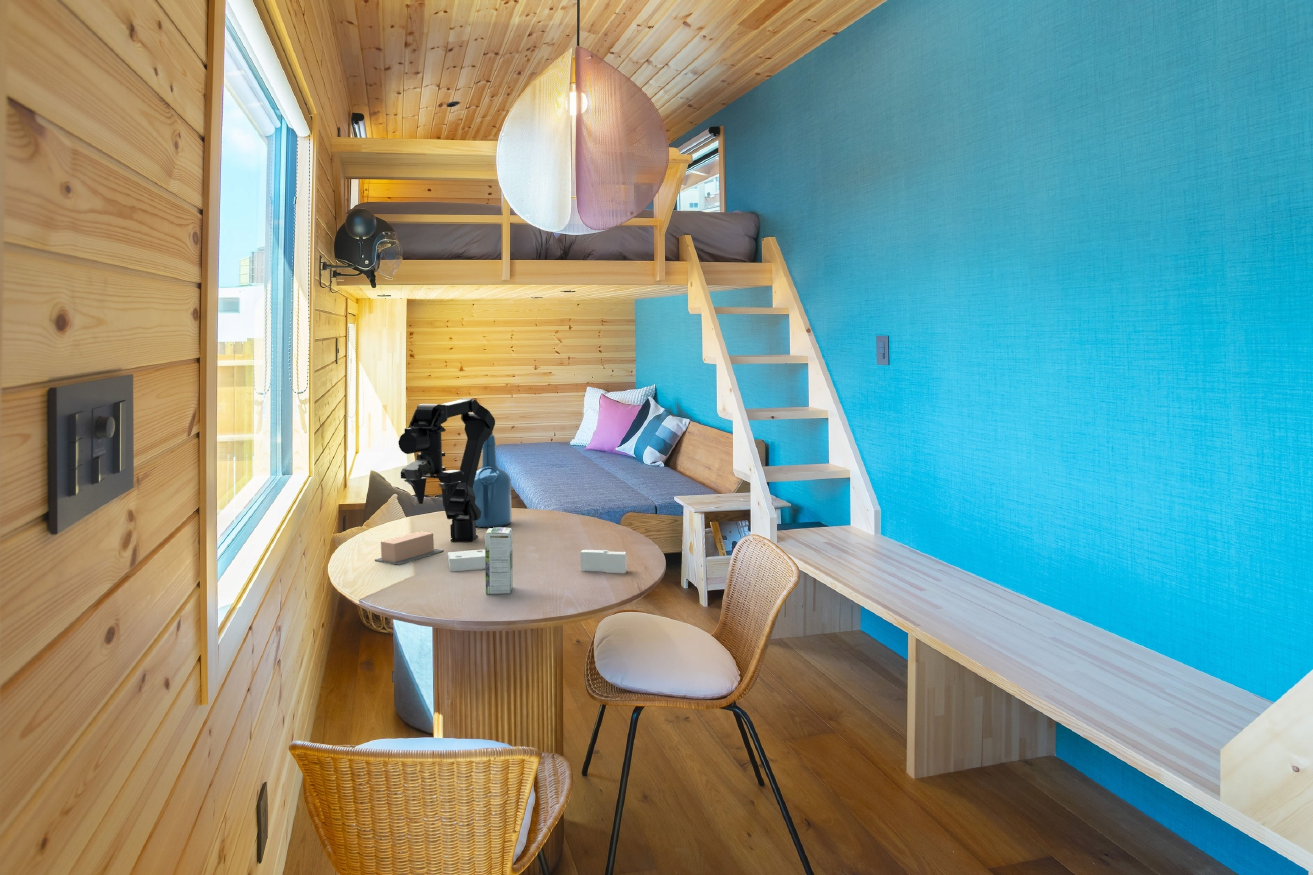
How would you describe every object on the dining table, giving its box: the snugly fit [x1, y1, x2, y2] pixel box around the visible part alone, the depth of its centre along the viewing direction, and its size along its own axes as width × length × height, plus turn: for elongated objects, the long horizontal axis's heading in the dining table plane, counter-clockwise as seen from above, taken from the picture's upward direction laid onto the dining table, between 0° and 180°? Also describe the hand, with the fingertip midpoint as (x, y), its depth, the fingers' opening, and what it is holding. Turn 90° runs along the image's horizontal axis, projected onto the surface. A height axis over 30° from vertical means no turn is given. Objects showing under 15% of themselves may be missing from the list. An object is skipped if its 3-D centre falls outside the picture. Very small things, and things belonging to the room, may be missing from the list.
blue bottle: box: [473, 431, 513, 529], centre depth 260 cm, size 14×13×30 cm
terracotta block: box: [380, 530, 435, 562], centre depth 222 cm, size 5×5×14 cm
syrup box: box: [484, 526, 514, 595], centre depth 190 cm, size 6×6×14 cm
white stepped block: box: [580, 549, 627, 574], centre depth 207 cm, size 15×11×6 cm
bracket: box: [447, 548, 485, 572], centre depth 212 cm, size 13×7×8 cm, turn 108°
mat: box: [374, 548, 444, 566], centre depth 223 cm, size 16×9×1 cm, turn 151°
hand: (433, 505), depth 226 cm, fingers open, 9 cm apart
